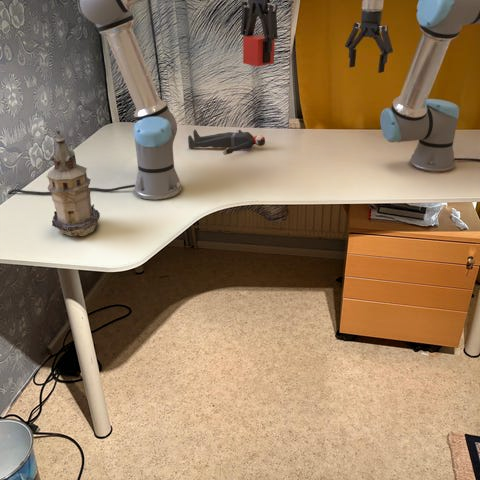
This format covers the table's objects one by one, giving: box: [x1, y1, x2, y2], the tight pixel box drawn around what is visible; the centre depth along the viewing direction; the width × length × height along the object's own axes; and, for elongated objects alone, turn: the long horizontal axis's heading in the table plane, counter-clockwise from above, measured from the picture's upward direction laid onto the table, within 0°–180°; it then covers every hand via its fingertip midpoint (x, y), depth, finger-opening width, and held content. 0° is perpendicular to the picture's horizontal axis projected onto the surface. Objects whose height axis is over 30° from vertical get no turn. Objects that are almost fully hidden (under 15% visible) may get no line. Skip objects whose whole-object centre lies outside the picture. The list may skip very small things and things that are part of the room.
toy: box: [187, 129, 266, 156], centre depth 213 cm, size 26×6×30 cm
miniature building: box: [46, 129, 101, 237], centre depth 148 cm, size 13×14×30 cm
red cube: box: [242, 34, 276, 67], centre depth 170 cm, size 7×7×8 cm
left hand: (258, 60), depth 172 cm, fingers closed on red cube, 7 cm apart
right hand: (366, 69), depth 207 cm, fingers open, 13 cm apart
